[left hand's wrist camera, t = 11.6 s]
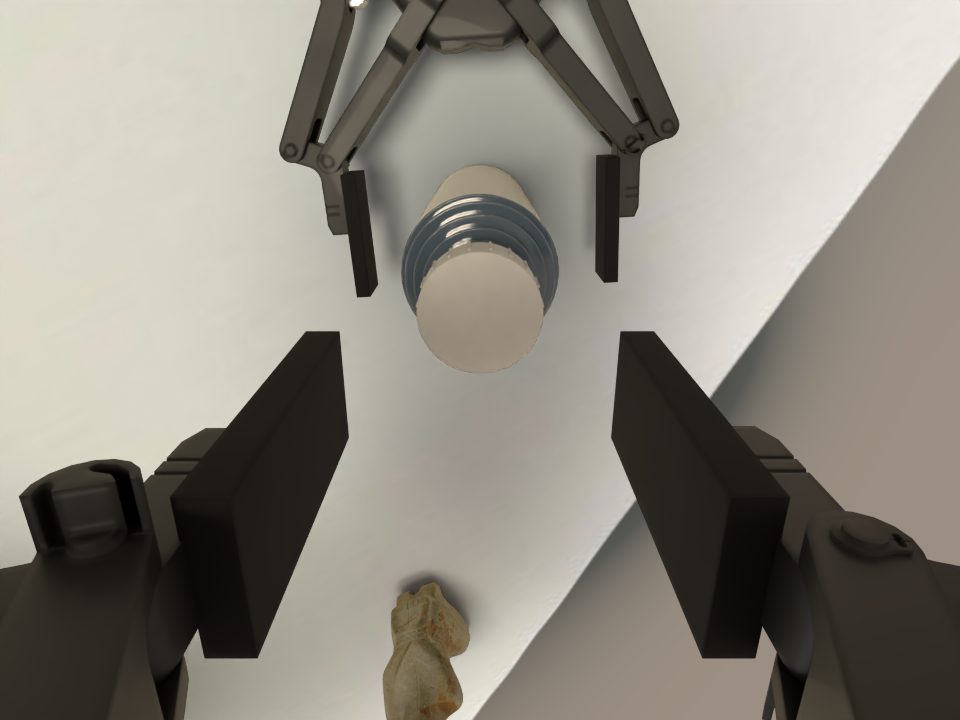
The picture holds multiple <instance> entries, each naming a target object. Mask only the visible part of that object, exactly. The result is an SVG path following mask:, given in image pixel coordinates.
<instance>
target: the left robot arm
mask: <svg viewBox="0 0 960 720" xmlns="http://www.w3.org/2000/svg"><path fill="white" fill-rule="evenodd" d="M348 438H349V434H348V423H347V411H346V400H345V389H344V377H343V366H342V355H341V343H340V332H339V331H306V332H305V333H304V335H303V336H302V337H301V338H300V339H299V341H298V342H297V343H296V344H295V345H294V347H293V348H292V349H291V350H290V352H289V353H288V354H287V355H286V356H285V358H284V359H283V360H282V361H281V362H280V364H279V365H278V366H277V367H276V369H275V370H274V371H273V372H272V373H271V375H270V376H269V377H268V378H267V379H266V381H265V382H264V383H263V384H262V386H261V387H260V388H259V389H258V390H257V392H256V393H255V394H254V395H253V396H252V398H251V399H250V400H249V401H248V402H247V404H246V405H245V406H244V407H243V409H242V410H241V411H240V412H239V413H238V415H237V416H236V417H235V418H234V419H233V421H232V422H231V423H230V424H229V426H228V427H227V428H205V429H204V430H202V431H200V432H198V433H197V434H195V435H193V436H191V437H190V438H188V439H186V440H184V441H183V442H181V443H180V444H179V446H178V447H177V448H176V449H175V450H174V451H173V452H172V453H171V454H170V455H169V456H168V457H167V461H164V462H163V463H162V464H161V465H160V466H159V467H158V468H157V469H156V470H155V471H154V475H151V476H150V477H149V478H148V479H147V480H146V481H145V482H144V483H143V478H142V474H141V470H140V468H139V467H138V466H136V465H135V464H134V463H132V462H130V461H124V460H118V459H108V460H94V461H89V462H85V463H80V464H76V465H71V466H69V467H66V468H63V469H61V470H58V471H55V472H53V473H50V474H48V475H46V476H45V477H43V478H41V479H39V480H38V481H36V482H34V483H33V484H31V485H30V486H29V487H28V488H27V489H26V490H25V491H24V492H23V493H22V494H21V495H20V496H19V498H20V501H21V504H22V507H23V511H24V514H25V517H26V520H27V523H28V526H29V529H30V532H31V535H32V538H33V541H34V544H35V548H36V551H37V554H36V555H35V557H34V559H33V561H32V563H28V564H23V565H18V566H13V567H8V568H3V569H0V720H184V713H185V705H186V697H187V689H188V681H189V679H188V672H187V666H186V662H185V658H184V653H185V651H186V649H187V647H188V645H189V644H190V642H191V640H192V638H193V636H194V635H195V633H196V631H197V629H198V630H199V635H200V639H201V644H202V648H203V653H204V657H205V658H258V656H259V653H260V651H261V649H262V646H263V644H264V641H265V639H266V637H267V634H268V632H269V629H270V627H271V624H272V622H273V620H274V617H275V615H276V612H277V610H278V608H279V605H280V603H281V600H282V598H283V595H284V593H285V591H286V588H287V586H288V583H289V581H290V579H291V576H292V574H293V571H294V569H295V566H296V564H297V562H298V559H299V557H300V554H301V552H302V550H303V547H304V545H305V542H306V540H307V537H308V535H309V533H310V530H311V528H312V525H313V523H314V521H315V518H316V516H317V513H318V511H319V508H320V506H321V504H322V501H323V499H324V496H325V494H326V492H327V489H328V487H329V484H330V482H331V479H332V477H333V475H334V472H335V470H336V467H337V465H338V462H339V460H340V458H341V455H342V453H343V450H344V448H345V446H346V443H347V441H348ZM611 438H612V441H613V443H614V446H615V448H616V450H617V453H618V455H619V458H620V460H621V462H622V465H623V467H624V470H625V472H626V475H627V477H628V479H629V482H630V484H631V487H632V489H633V492H634V494H635V496H636V499H637V501H638V504H639V506H640V508H641V511H642V513H643V516H644V518H645V520H646V523H647V525H648V528H649V530H650V533H651V535H652V537H653V540H654V542H655V545H656V547H657V549H658V552H659V554H660V557H661V559H662V562H663V564H664V566H665V569H666V571H667V574H668V576H669V579H670V581H671V583H672V586H673V588H674V590H675V593H676V595H677V598H678V600H679V603H680V605H681V607H682V610H683V612H684V615H685V617H686V620H687V622H688V624H689V627H690V629H691V632H692V634H693V636H694V639H695V641H696V644H697V646H698V649H699V651H700V653H701V656H702V658H755V657H756V653H757V648H758V644H759V639H760V635H761V630H762V626H763V628H764V630H765V631H766V633H767V635H768V637H769V639H770V640H771V642H772V644H773V646H774V648H775V649H776V651H777V653H776V658H775V662H774V666H773V670H772V675H771V679H770V683H769V688H768V692H767V696H766V700H765V705H764V710H763V716H762V719H763V720H771V718H772V714H773V710H774V708H775V712H776V720H960V566H956V565H951V564H946V563H940V562H935V561H931V560H927V558H926V556H925V554H924V552H923V551H922V550H921V548H920V547H919V546H918V545H917V544H916V543H915V541H914V540H913V539H912V538H911V537H909V536H908V535H906V534H905V533H903V532H902V531H900V530H899V529H898V528H896V527H894V526H892V525H890V524H888V523H885V522H883V521H881V520H879V519H876V518H874V517H870V516H866V515H863V514H859V513H855V512H848V511H845V510H844V509H843V508H842V507H841V506H840V505H839V504H838V503H837V502H836V501H835V500H834V499H833V498H832V497H831V495H830V494H829V493H828V492H827V491H826V490H825V489H824V488H823V487H822V486H821V485H820V484H819V483H818V481H817V480H816V479H815V478H814V477H813V476H812V475H811V474H810V473H806V469H805V468H804V467H803V466H802V464H801V463H800V462H799V461H798V460H797V459H794V458H793V457H794V456H793V455H792V454H791V453H790V452H789V450H788V449H787V448H786V447H785V446H784V445H783V444H782V443H781V442H780V441H779V440H778V439H776V438H774V437H773V436H771V435H769V434H767V433H766V432H764V431H762V430H760V429H759V428H757V427H755V426H731V424H730V423H729V422H728V421H727V419H726V418H725V417H724V416H723V415H722V413H721V412H720V411H719V410H718V409H717V407H716V406H715V405H714V404H713V403H712V401H711V400H710V399H709V398H708V396H707V395H706V394H705V393H704V392H703V390H702V389H701V388H700V387H699V386H698V384H697V383H696V382H695V381H694V379H693V378H692V377H691V376H690V375H689V373H688V372H687V371H686V370H685V369H684V367H683V366H682V365H681V364H680V362H679V361H678V360H677V359H676V358H675V356H674V355H673V354H672V353H671V352H670V350H669V349H668V348H667V347H666V345H665V344H664V343H663V342H662V341H661V339H660V338H659V337H658V336H657V335H656V333H655V332H654V331H621V332H620V343H619V355H618V366H617V377H616V389H615V400H614V411H613V423H612V434H611Z"/></svg>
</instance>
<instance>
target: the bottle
mask: <svg viewBox="0 0 960 720" xmlns="http://www.w3.org/2000/svg"><path fill="white" fill-rule="evenodd" d="M469 241H471V243H474V242H485V243H489V241H491V242H492V244H496V245H500V246H502V247H505V248H507V249H508V248H511V251H512V252H514V253H515V254H517V255H518V256H519V257H520V258H521V259H522V260H523V261H524V260H526V261H527V264H528V267H529V268H530V270H531V271H532V273H533V275H534V277H537V280H538V283H539V286H540V288H539V291H540V294H541V298H542V300H543V303H544V307H543V317H544V315H545V314H546V312H547V311H548V309H549V307H550V305H551V303H552V301H553V299H554V296H555V293H556V289H557V284H558V276H559V266H558V257H557V253H556V249H555V246H554V244H553V241H552V239H551V237H550V235H549V233H548V231H547V230H546V228H545V226H544V225H543V223H542V221H541V220H540V218H539V217H538V215H537V213H536V212H535V210H534V208H533V207H532V205H531V203H530V202H529V200H528V198H527V197H526V195H525V194H524V192H523V190H522V189H521V187H520V186H519V184H518V183H517V182H516V181H515V180H514V179H513V178H512V177H511V176H510V175H509V174H507V173H506V172H504V171H502V170H500V169H498V168H495V167H492V166H487V165H473V166H468V167H465V168H462V169H460V170H458V171H456V172H454V173H453V174H451V175H450V176H449V177H448V178H447V179H446V180H445V181H444V182H443V183H442V184H441V186H440V187H439V189H438V190H437V192H436V194H435V195H434V197H433V198H432V200H431V202H430V203H429V205H428V207H427V208H426V210H425V212H424V213H423V215H422V216H421V218H420V220H419V221H418V223H417V225H416V226H415V228H414V230H413V231H412V233H411V235H410V237H409V239H408V241H407V244H406V247H405V250H404V253H403V258H402V268H401V275H402V284H403V289H404V293H405V296H406V299H407V301H408V303H409V305H410V307H411V309H412V311H413V312H414V314H415V315H416V317H417V308H416V304H417V301H418V298H419V294H420V291H421V289H422V288H420V286H421V283H422V280H423V277H426V275H427V273H428V271H429V270H430V268H431V267H432V264H433V261H434V260H435V261H437V260H438V259H439V258H440V257H441V256H442V255H443V254H445V253H446V252H448V251H449V248H452V249H453V248H455V247H458V246H460V245H464V244H467V243H468V242H469Z"/></svg>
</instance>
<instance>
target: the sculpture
mask: <svg viewBox="0 0 960 720" xmlns="http://www.w3.org/2000/svg"><path fill="white" fill-rule="evenodd" d="M391 630H392V639H393V645H394V653H393V655H392V657H391V659H390V661H389V663H388V665H387V667H386V669H385V671H384V674H383V692H384V704H385V713H386V718H387V720H446V719H447V718H448V717H449V716H450V715H451V714H453V713H454V712H455V711H457V710H458V709H459V708H460V707H461V705H462V702H463V693H462V689H461V686H460V683H459V681H458V678H457V676H456V674H455V672H454V670H453V668H452V665H451V663H450V658H451V657H454V656H457V655H460V654H462V653H463V652H464V651H465V650H466V649H467V647H468V644H469V640H470V636H469V630H468V627H467V624H466V622H465V621H464V619H463V618H462V616H461V615H460V614H459V613H458V612H457V610H456V609H455V608H454V607H453V606H451V605H450V604H449V603H448V602H447V601H446V600H445V599H444V597H443V595H442V594H441V589H440V587H439V585H438V584H437V583H435V582H432V583H429V584H426V585H423V586H421V587H420V589H419V591H418V593H417V594H415V593H414V592H412V591H408V592H405V593H403V594H401V595H399V596H398V598H397V607H396V608H394V609H393V611H392V613H391Z"/></svg>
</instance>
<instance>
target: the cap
mask: <svg viewBox="0 0 960 720" xmlns="http://www.w3.org/2000/svg"><path fill="white" fill-rule="evenodd" d="M420 288H422V289H421V291H420V294H419V298H418V301H417V304H416V308H417V323H418V327H419V331H420V333H421V336H422V338H423V340H424V342H425V344H426V345H427V346H428V348H429V349H430V350H431V352H432V353H433V354H434V355H435V356H436V357H437V358H439V359H440V360H441V361H443V362H444V363H446V364H447V365H449V366H451V367H453V368H455V369H458V370H461V371H465V372H470V373H490V372H495V371H499V370H502V369H504V368H507V367H509V366H511V365H513V364H515V363H516V362H517V361H519V360H520V359H522V358H523V357H524V356H525V355H526V354H527V353H528V352H529V350H530V349H531V348H532V347H533V345H534V343H535V342H536V340H537V338H538V336H539V334H540V331H541V327H542V323H543V307H544V303H543V300H542V298H541V294H540V291H539V288H540V286H539V283H538V280H537V277H534V275H533V273H532V271H531V270H530V268H529V267H528V264H527V261H526V260H524V261H523V260H522V259H521V258H520V257H519V256H518V255H517V254H515V253H514V252H512V251H511V248H508V249H507V248H505V247H502V246H500V245H496V244H492V242H491V241H489V243H485V242H474V243H471V241H469V242H468V243H467V244H464V245H460V246H458V247H455V248H453V249H452V248H449V251H448V252H446V253H445V254H443V255H442V256H441V257H440V258H439V259H438V260H437V261H435V260H434V261H433V264H432V267H431V268H430V270H429V271H428V273H427V275H426V277H423V280H422V283H421V286H420Z"/></svg>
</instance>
